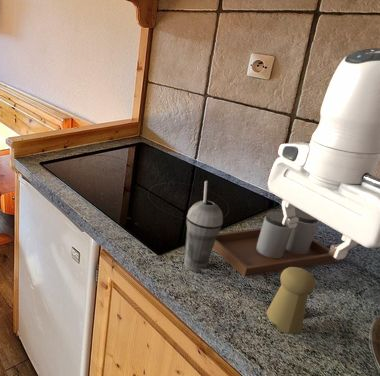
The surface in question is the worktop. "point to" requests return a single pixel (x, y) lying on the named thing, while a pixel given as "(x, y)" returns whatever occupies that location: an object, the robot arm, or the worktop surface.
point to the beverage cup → (201, 232)
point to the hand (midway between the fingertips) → (310, 240)
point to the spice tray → (259, 264)
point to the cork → (291, 300)
